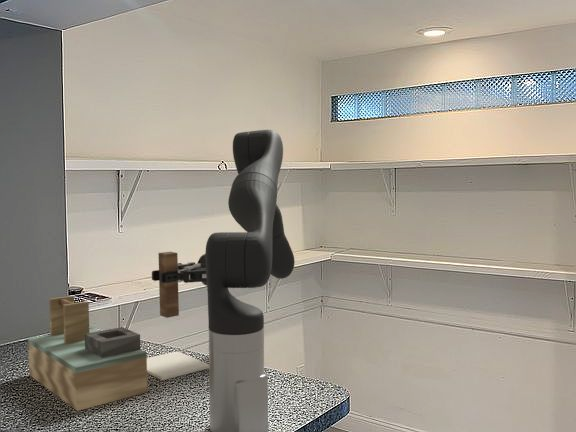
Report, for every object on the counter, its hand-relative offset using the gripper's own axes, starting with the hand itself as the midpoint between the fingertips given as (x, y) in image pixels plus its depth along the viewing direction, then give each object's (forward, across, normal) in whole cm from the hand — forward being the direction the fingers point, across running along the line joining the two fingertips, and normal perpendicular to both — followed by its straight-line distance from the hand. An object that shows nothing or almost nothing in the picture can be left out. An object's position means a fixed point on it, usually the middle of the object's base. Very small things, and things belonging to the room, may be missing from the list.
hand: (156, 277), depth 130 cm
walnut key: (-3, 0, +9) cm, 9 cm away
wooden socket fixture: (+16, -2, +20) cm, 26 cm away
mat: (-3, 0, +20) cm, 21 cm away
